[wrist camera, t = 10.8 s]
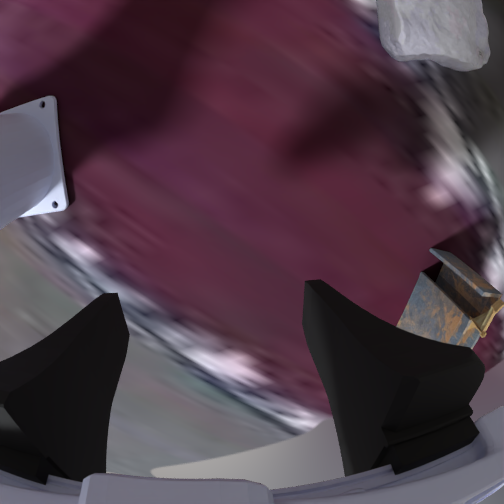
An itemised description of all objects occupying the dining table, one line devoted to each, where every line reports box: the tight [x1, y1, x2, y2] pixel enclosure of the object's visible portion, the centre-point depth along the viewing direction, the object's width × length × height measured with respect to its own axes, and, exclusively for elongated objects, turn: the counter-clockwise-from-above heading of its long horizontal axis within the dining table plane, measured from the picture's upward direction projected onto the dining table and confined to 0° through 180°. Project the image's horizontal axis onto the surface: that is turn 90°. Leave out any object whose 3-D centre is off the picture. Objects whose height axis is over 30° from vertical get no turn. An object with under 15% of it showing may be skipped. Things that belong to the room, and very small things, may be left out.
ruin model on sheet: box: [396, 248, 504, 349], centre depth 22 cm, size 11×3×10 cm, turn 169°
